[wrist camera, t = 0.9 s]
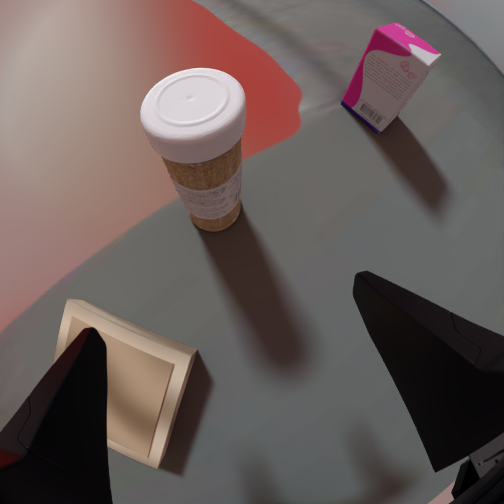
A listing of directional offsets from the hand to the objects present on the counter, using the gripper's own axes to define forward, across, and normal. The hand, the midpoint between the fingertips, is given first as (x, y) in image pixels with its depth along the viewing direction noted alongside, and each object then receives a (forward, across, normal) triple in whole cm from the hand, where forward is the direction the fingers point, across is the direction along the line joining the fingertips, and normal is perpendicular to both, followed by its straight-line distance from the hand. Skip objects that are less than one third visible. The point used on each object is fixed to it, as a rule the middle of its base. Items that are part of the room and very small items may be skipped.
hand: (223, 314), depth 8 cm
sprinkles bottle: (+16, 0, +3) cm, 16 cm away
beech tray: (+6, +11, +12) cm, 18 cm away
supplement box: (+22, -20, -4) cm, 30 cm away
